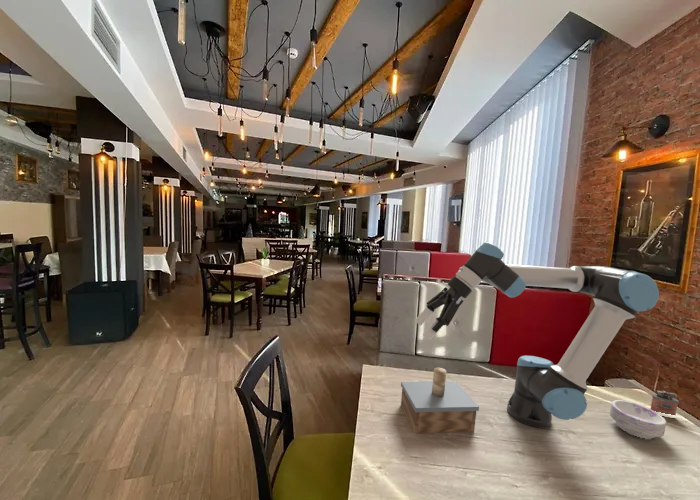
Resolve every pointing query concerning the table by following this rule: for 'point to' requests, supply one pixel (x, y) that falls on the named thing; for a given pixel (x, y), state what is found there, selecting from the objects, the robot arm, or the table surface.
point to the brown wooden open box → (438, 419)
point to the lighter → (664, 402)
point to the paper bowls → (637, 419)
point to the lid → (438, 395)
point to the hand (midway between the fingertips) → (421, 330)
